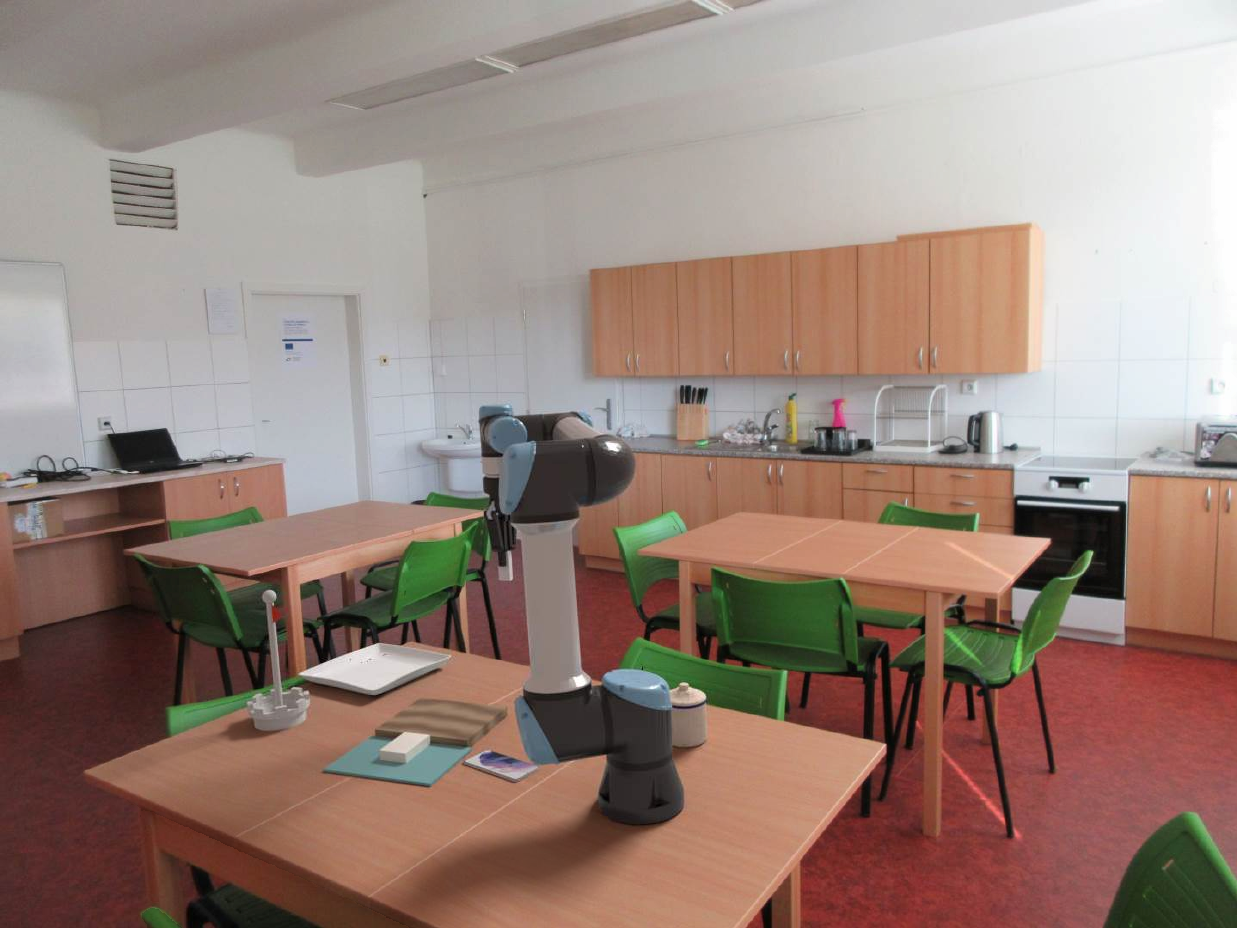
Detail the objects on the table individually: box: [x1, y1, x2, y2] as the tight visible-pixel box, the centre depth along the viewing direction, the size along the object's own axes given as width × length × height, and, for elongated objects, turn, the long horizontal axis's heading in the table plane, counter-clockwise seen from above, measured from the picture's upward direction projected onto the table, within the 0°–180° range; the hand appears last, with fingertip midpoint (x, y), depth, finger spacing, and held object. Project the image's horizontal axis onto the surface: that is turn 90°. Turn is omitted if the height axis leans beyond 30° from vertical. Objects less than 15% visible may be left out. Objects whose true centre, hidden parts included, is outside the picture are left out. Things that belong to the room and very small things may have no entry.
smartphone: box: [462, 749, 541, 783], centre depth 179 cm, size 7×1×15 cm
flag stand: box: [246, 589, 311, 732], centre depth 204 cm, size 13×13×30 cm
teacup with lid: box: [670, 682, 708, 748], centre depth 187 cm, size 12×9×12 cm
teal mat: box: [322, 735, 473, 787], centre depth 183 cm, size 16×24×1 cm, turn 70°
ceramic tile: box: [379, 732, 431, 763], centre depth 186 cm, size 9×6×2 cm, turn 160°
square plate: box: [297, 642, 452, 696], centre depth 232 cm, size 27×27×4 cm
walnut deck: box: [374, 697, 509, 748], centre depth 199 cm, size 18×22×2 cm
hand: (505, 579), depth 205 cm, fingers closed
